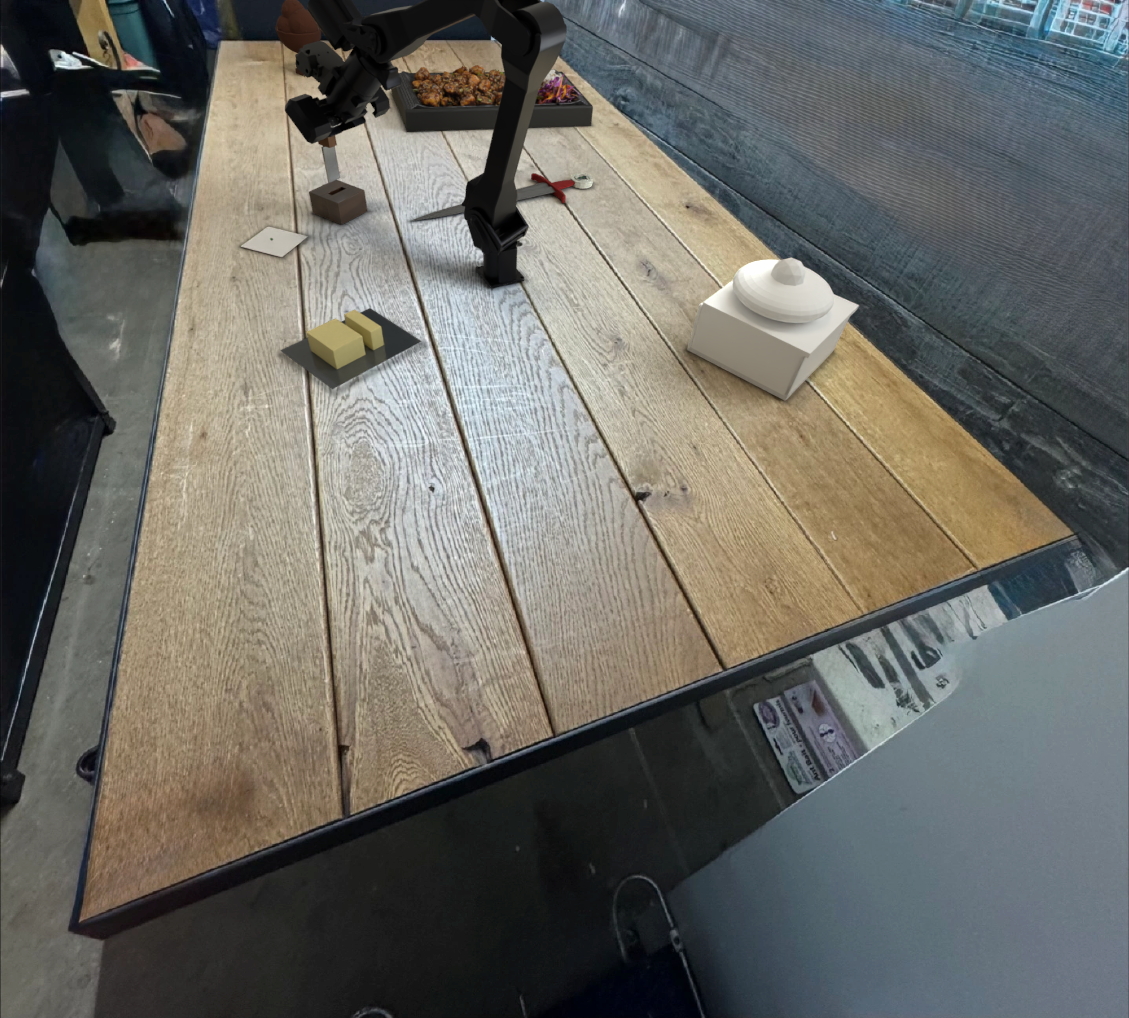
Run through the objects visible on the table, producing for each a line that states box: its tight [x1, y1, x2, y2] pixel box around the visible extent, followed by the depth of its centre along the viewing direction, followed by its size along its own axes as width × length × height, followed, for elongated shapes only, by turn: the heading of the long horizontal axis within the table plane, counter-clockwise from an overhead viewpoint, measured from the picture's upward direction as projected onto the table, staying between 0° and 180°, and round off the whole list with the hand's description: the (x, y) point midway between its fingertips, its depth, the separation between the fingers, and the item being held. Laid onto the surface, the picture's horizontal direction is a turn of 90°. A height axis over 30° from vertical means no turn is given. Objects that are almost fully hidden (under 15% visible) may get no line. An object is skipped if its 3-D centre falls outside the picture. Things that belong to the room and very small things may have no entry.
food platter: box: [390, 64, 594, 133], centre depth 159 cm, size 45×25×10 cm, turn 108°
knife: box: [317, 135, 341, 183], centre depth 114 cm, size 3×3×11 cm
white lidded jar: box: [686, 257, 860, 402], centre depth 98 cm, size 18×18×16 cm
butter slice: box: [343, 309, 384, 350], centre depth 96 cm, size 2×6×3 cm, turn 50°
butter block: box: [305, 318, 365, 369], centre depth 93 cm, size 5×6×3 cm
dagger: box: [410, 172, 594, 222], centre depth 132 cm, size 12×41×2 cm, turn 113°
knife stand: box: [308, 179, 368, 226], centre depth 121 cm, size 7×7×4 cm
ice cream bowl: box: [274, 0, 322, 76], centre depth 163 cm, size 11×11×15 cm
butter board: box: [280, 307, 422, 390], centre depth 96 cm, size 16×12×1 cm
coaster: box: [240, 226, 309, 258], centre depth 113 cm, size 8×8×1 cm
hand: (320, 135), depth 113 cm, fingers closed on knife, 2 cm apart
